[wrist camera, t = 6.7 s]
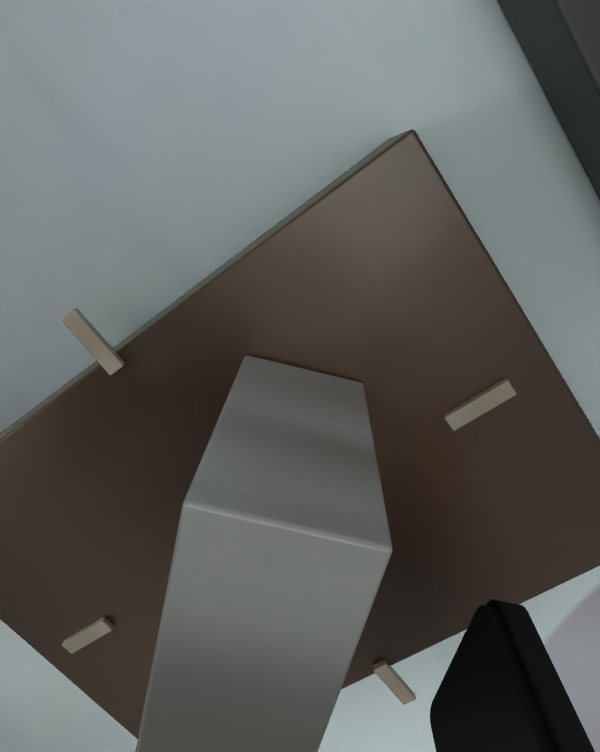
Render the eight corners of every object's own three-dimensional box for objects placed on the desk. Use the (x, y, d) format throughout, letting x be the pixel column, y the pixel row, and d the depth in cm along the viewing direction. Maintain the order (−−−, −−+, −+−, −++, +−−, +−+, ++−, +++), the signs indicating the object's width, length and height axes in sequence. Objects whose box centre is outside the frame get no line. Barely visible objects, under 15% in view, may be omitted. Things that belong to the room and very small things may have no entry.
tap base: (217, 697, 18) (196, 799, 15) (-62, 428, 15) (-157, 493, 12) (613, 495, 15) (684, 577, 12) (364, 90, 12) (378, 64, 9)
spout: (245, 353, 11) (176, 514, 6) (364, 382, 11) (397, 564, 6) (181, 650, 13) (99, 928, 9) (275, 670, 14) (248, 955, 9)
